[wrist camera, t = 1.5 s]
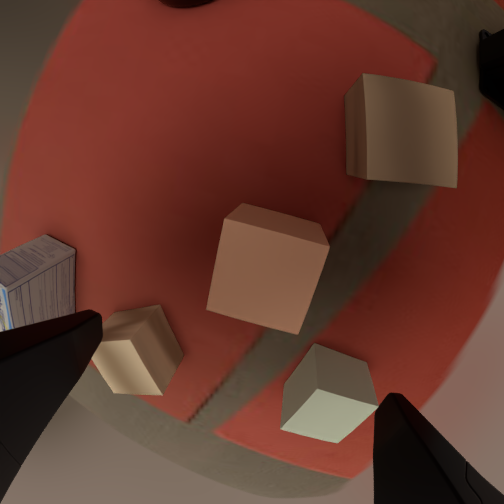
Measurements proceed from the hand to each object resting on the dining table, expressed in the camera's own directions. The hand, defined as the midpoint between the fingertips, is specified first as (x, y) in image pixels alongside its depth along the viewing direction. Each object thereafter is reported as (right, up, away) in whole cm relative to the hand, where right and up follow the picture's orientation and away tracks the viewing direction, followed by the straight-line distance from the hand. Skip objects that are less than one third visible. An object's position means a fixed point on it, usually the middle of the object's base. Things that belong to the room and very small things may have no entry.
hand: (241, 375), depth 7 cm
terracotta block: (+2, +4, +11) cm, 12 cm away
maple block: (-8, -4, +15) cm, 17 cm away
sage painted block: (+6, -7, +14) cm, 16 cm away
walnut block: (+8, +10, +8) cm, 16 cm away
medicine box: (-18, +1, +15) cm, 23 cm away
